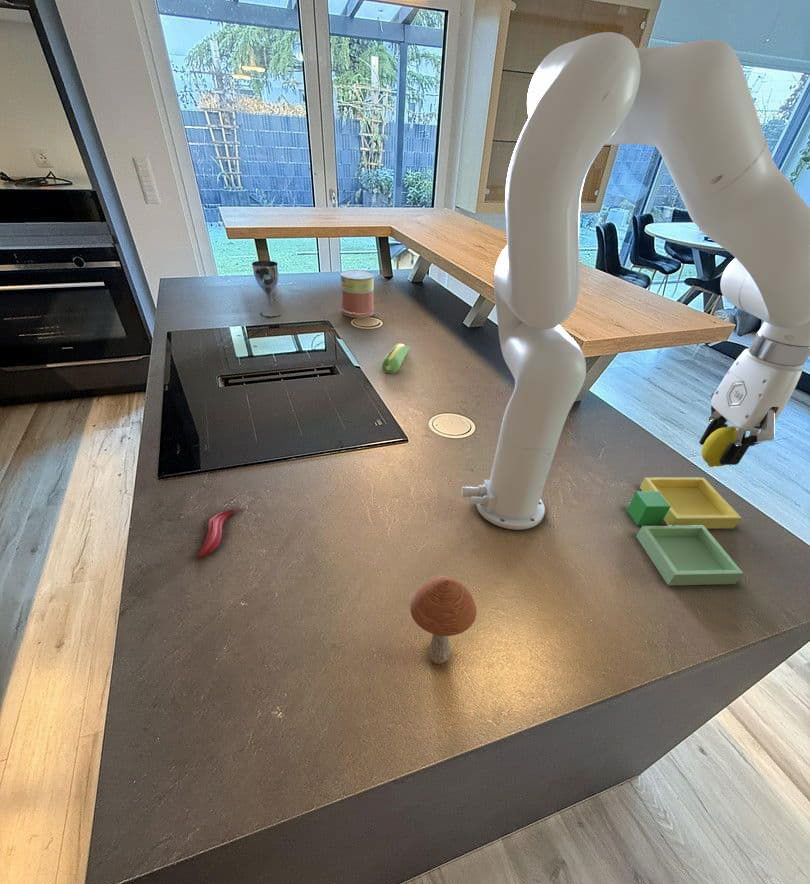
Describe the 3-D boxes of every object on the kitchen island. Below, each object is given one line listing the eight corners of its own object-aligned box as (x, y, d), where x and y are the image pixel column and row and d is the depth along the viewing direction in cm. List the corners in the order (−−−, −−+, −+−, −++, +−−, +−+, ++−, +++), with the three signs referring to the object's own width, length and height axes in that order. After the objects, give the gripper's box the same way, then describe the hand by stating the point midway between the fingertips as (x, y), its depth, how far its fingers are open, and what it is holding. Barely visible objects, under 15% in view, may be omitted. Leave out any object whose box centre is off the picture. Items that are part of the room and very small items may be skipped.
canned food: (345, 306, 168) (344, 268, 160) (375, 308, 167) (376, 271, 159) (338, 316, 160) (337, 277, 151) (371, 318, 159) (371, 280, 151)
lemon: (730, 477, 81) (757, 437, 75) (697, 472, 81) (721, 432, 76) (721, 460, 85) (745, 421, 79) (690, 456, 85) (711, 416, 80)
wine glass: (255, 316, 155) (247, 265, 145) (264, 308, 161) (257, 259, 150) (278, 318, 154) (272, 267, 144) (286, 311, 160) (281, 262, 150)
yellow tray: (670, 529, 84) (676, 518, 83) (639, 487, 94) (644, 477, 92) (733, 528, 86) (741, 517, 84) (697, 487, 95) (703, 477, 93)
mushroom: (403, 631, 65) (410, 555, 54) (459, 629, 65) (476, 554, 55) (408, 683, 59) (417, 609, 49) (469, 679, 60) (490, 606, 49)
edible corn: (378, 375, 126) (378, 359, 123) (396, 349, 140) (397, 334, 137) (396, 378, 125) (397, 362, 122) (412, 352, 139) (413, 336, 136)
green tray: (667, 585, 74) (675, 574, 72) (636, 536, 82) (641, 525, 81) (734, 584, 75) (743, 573, 73) (696, 535, 83) (703, 525, 82)
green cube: (636, 525, 85) (647, 506, 82) (626, 510, 88) (635, 491, 85) (660, 525, 85) (670, 506, 82) (648, 509, 88) (658, 491, 85)
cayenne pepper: (224, 508, 82) (222, 499, 80) (247, 514, 81) (245, 506, 79) (179, 552, 73) (176, 543, 72) (204, 560, 72) (201, 551, 71)
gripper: (722, 329, 75) (673, 428, 87) (796, 374, 62) (725, 482, 75) (765, 330, 76) (710, 429, 88) (846, 374, 63) (768, 482, 75)
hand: (717, 452), depth 81 cm, fingers closed on lemon, 5 cm apart
